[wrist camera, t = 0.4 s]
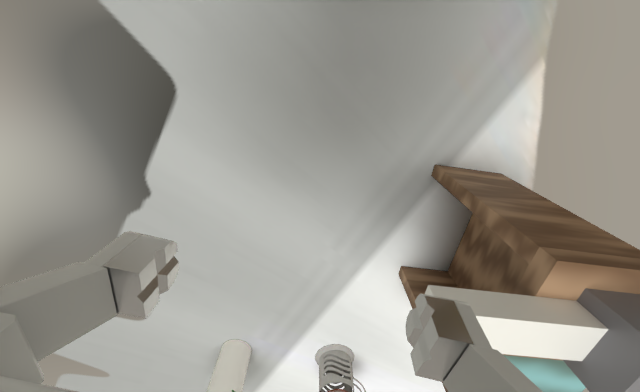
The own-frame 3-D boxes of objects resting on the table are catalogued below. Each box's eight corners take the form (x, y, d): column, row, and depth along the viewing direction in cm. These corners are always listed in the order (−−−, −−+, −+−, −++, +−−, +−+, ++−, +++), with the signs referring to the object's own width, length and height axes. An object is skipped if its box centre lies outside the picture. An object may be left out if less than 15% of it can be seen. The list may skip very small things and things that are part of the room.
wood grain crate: (434, 164, 46) (557, 260, 23) (500, 173, 47) (686, 275, 23) (398, 273, 56) (457, 420, 32) (453, 279, 57) (550, 427, 33)
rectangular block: (433, 271, 23) (469, 333, 18) (646, 294, 24) (742, 359, 19) (410, 328, 26) (435, 397, 20) (602, 347, 27) (674, 415, 22)
